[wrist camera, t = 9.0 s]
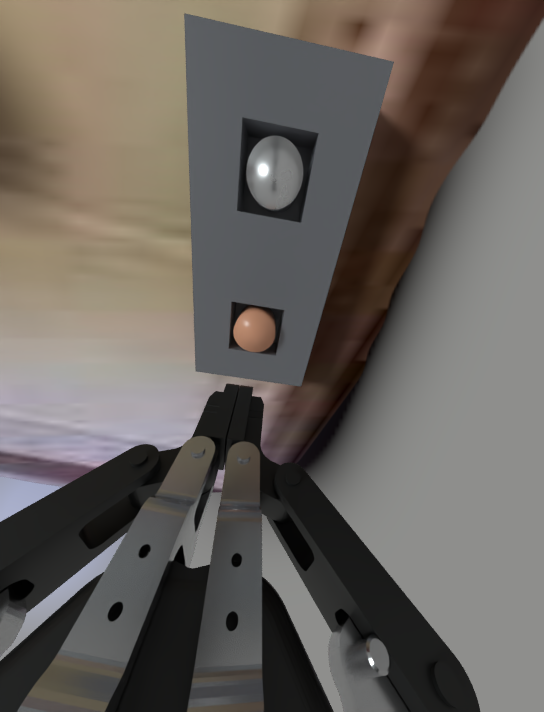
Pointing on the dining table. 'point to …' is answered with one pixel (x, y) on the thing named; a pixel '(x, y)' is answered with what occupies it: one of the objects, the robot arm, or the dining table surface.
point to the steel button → (274, 173)
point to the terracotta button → (255, 328)
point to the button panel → (239, 208)
